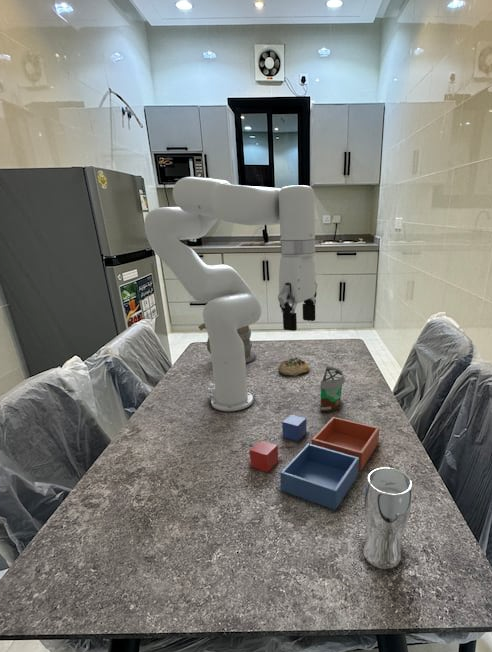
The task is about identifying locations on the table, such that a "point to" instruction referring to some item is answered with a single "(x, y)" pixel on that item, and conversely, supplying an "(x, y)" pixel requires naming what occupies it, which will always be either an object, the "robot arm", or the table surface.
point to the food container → (331, 389)
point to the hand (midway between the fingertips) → (300, 324)
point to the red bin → (348, 438)
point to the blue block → (294, 427)
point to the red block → (264, 456)
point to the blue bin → (320, 475)
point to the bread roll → (293, 367)
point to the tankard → (245, 336)
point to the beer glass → (386, 515)
